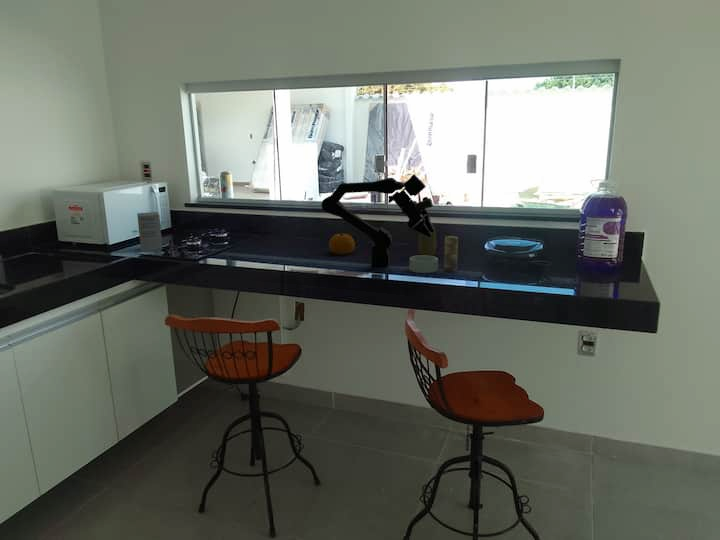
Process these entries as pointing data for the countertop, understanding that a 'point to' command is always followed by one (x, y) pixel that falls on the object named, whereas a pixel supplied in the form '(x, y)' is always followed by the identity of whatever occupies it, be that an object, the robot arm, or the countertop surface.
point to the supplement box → (149, 231)
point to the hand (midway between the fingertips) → (432, 234)
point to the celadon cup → (423, 264)
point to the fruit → (341, 244)
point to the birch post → (451, 253)
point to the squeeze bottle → (427, 243)
